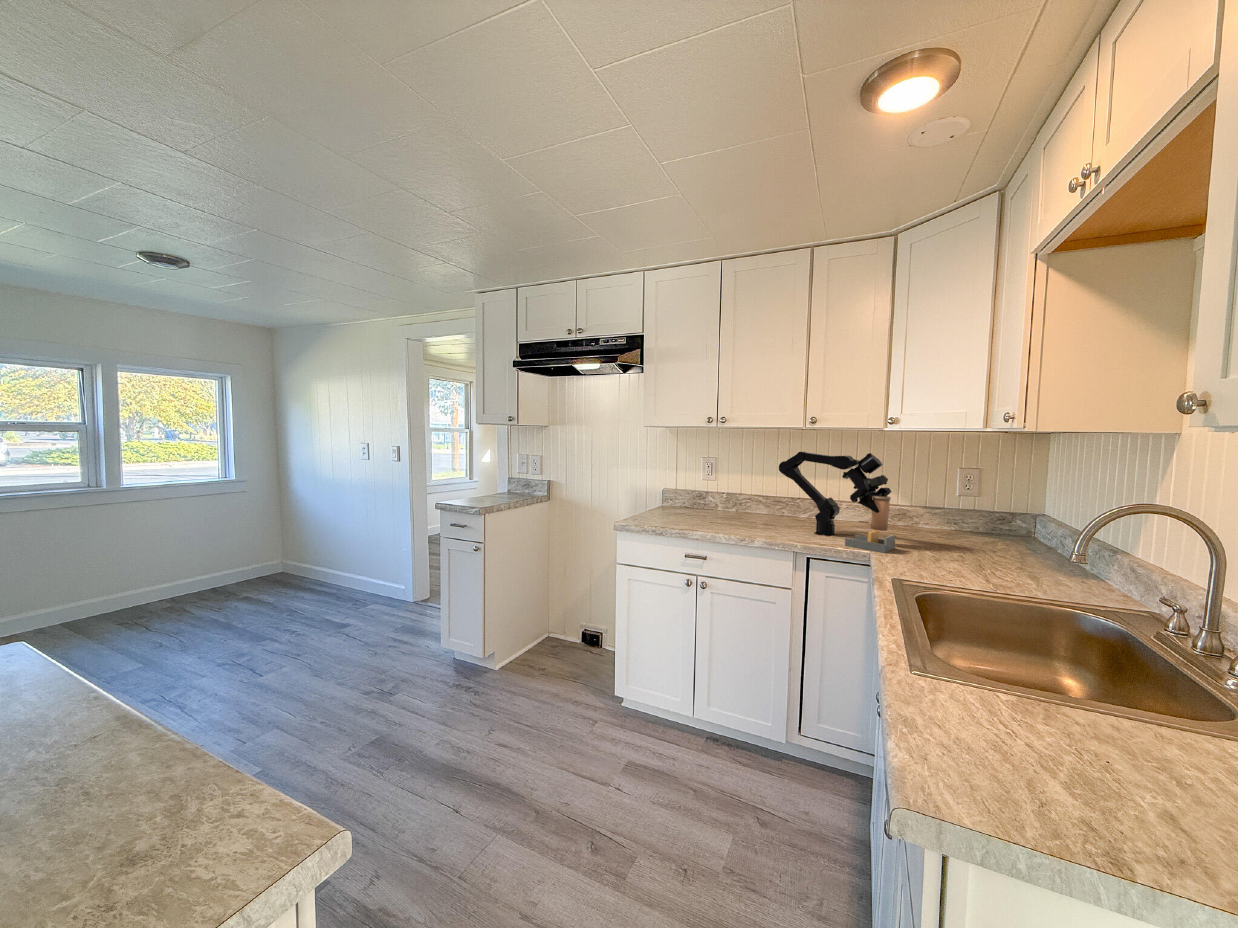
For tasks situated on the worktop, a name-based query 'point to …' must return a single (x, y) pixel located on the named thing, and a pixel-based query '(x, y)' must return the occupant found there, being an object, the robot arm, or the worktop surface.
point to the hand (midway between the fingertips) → (883, 511)
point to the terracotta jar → (880, 513)
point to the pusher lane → (881, 546)
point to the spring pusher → (873, 536)
